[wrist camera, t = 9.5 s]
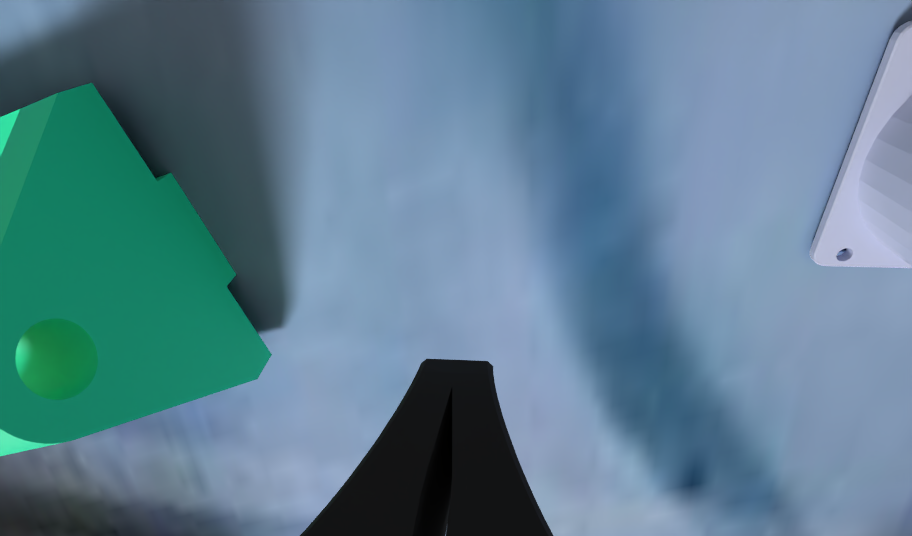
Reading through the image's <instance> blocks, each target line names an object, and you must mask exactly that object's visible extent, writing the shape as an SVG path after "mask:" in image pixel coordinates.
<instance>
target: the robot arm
mask: <svg viewBox="0 0 912 536" xmlns="http://www.w3.org/2000/svg"><path fill="white" fill-rule="evenodd" d="M842 249H846V251H845V252H844V253H843V254H841V255H838V256H837V254H838V252H839V251H841V250H842ZM809 254H810V257H811V259H813V260H814V261H815V262H816V263H817V264H818V265H822V266H846V267H886V268H912V21H908V22H906V23H904V24H903V25H901V26H900V27H898V28H897V29H896V30H895V31H894V33H893V34H892V36H891V38H890V40H889V43H888V45H887V48H886V50H885V53H884V56H883V58H882V61H881V64H880V66H879V69H878V72H877V74H876V77H875V80H874V82H873V85H872V87H871V90H870V93H869V95H868V98H867V101H866V103H865V106H864V109H863V111H862V114H861V116H860V119H859V122H858V124H857V127H856V130H855V132H854V135H853V138H852V140H851V143H850V145H849V148H848V151H847V153H846V156H845V159H844V161H843V164H842V167H841V169H840V172H839V174H838V177H837V180H836V182H835V185H834V188H833V190H832V193H831V196H830V198H829V201H828V203H827V206H826V209H825V211H824V214H823V217H822V219H821V222H820V225H819V227H818V230H817V232H816V235H815V238H814V240H813V243H812V246H811V248H810V253H809ZM446 528H447V531H446ZM445 534H446V536H553V534H552V532H551V530H550V528H549V527H548V525H547V523H546V521H545V519H544V517H543V515H542V512H541V510H540V508H539V506H538V504H537V502H536V500H535V498H534V496H533V493H532V491H531V489H530V487H529V484H528V482H527V480H526V477H525V475H524V473H523V470H522V468H521V466H520V463H519V461H518V458H517V456H516V453H515V450H514V447H513V445H512V442H511V439H510V436H509V434H508V431H507V428H506V425H505V422H504V419H503V416H502V412H501V408H500V405H499V401H498V397H497V393H496V388H495V383H494V376H493V366H492V365H491V364H490V363H489V362H488V361H469V360H444V359H426V360H425V361H423V362H422V363H421V365H420V367H419V370H418V372H417V374H416V376H415V378H414V380H413V382H412V384H411V385H410V387H409V389H408V391H407V393H406V394H405V396H404V398H403V399H402V401H401V403H400V405H399V406H398V408H397V410H396V411H395V413H394V414H393V416H392V417H391V419H390V420H389V422H388V423H387V425H386V427H385V428H384V430H383V431H382V433H381V434H380V436H379V437H378V439H377V440H376V442H375V443H374V445H373V446H372V447H371V449H370V450H369V451H368V453H367V454H366V456H365V457H364V458H363V460H362V461H361V462H360V464H359V465H358V466H357V468H356V469H355V470H354V472H353V473H352V475H351V476H350V477H349V479H348V480H347V481H346V482H345V484H344V485H343V486H342V487H341V489H340V490H339V491H338V492H337V494H336V495H335V496H334V497H333V498H332V500H331V501H330V502H329V503H328V505H327V506H326V507H325V508H324V509H323V510H322V511H321V513H320V514H319V515H318V516H317V517H316V518H315V520H314V521H313V522H312V523H311V524H310V525H309V526H308V528H307V529H306V530H305V531H304V532H303V533H302V534H301V535H300V536H445Z"/></svg>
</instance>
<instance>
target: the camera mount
mask: <svg viewBox="0 0 912 536" xmlns="http://www.w3.org/2000/svg"><path fill="white" fill-rule="evenodd" d="M235 276H236V273H235V272H234V270H233V268H232V267H231V265H230V264H229V262H228V261H227V259H226V257H225V256H224V254H223V253H222V251H221V250H220V248H219V247H218V245H217V243H216V242H215V240H214V239H213V237H212V236H211V234H210V232H209V231H208V229H207V228H206V226H205V225H204V223H203V222H202V220H201V218H200V217H199V215H198V214H197V212H196V211H195V209H194V207H193V206H192V204H191V203H190V201H189V200H188V198H187V197H186V195H185V193H184V192H183V190H182V189H181V187H180V186H179V184H178V182H177V181H176V179H175V178H174V176H173V175H172V173H169V174H166V175H163V176H160V177H157V178H155V177H154V176H153V174H152V173H151V171H150V170H149V168H148V167H147V165H146V164H145V162H144V161H143V159H142V158H141V156H140V154H139V153H138V151H137V150H136V148H135V147H134V145H133V144H132V142H131V141H130V139H129V138H128V136H127V135H126V133H125V132H124V130H123V129H122V127H121V126H120V124H119V123H118V121H117V120H116V118H115V117H114V115H113V114H112V112H111V111H110V109H109V108H108V106H107V105H106V103H105V101H104V100H103V98H102V97H101V95H100V94H99V92H98V91H97V89H96V88H95V86H94V85H93V83H89V84H86V85H82V86H79V87H76V88H72V89H69V90H65V91H62V92H59V93H56V94H54V95H51V96H49V97H47V98H44V99H42V100H40V101H37V102H35V103H33V104H30V105H28V106H26V107H23V108H21V109H19V110H16V111H14V112H11V113H9V114H7V115H4V116H2V117H0V456H4V455H8V454H13V453H17V452H22V451H27V450H31V449H36V448H40V447H45V446H50V445H54V444H59V443H63V442H68V441H72V440H75V439H78V438H81V437H84V436H87V435H90V434H93V433H96V432H99V431H102V430H105V429H108V428H111V427H114V426H117V425H120V424H123V423H126V422H129V421H132V420H135V419H138V418H141V417H144V416H147V415H150V414H153V413H156V412H159V411H162V410H165V409H168V408H171V407H174V406H177V405H180V404H183V403H186V402H189V401H192V400H195V399H198V398H201V397H204V396H207V395H210V394H213V393H216V392H219V391H222V390H225V389H228V388H231V387H234V386H237V385H240V384H243V383H246V382H249V381H252V380H255V379H258V377H259V375H260V373H261V372H262V370H263V368H264V367H265V365H266V363H267V362H268V360H269V358H270V356H271V355H272V354H271V353H270V351H269V350H268V348H267V347H266V345H265V344H264V342H263V341H262V339H261V338H260V336H259V335H258V333H257V332H256V330H255V329H254V327H253V326H252V324H251V323H250V321H249V320H248V318H247V317H246V315H245V314H244V312H243V310H242V309H241V307H240V306H239V304H238V303H237V301H236V300H235V298H234V297H233V295H232V294H231V292H230V291H229V289H228V288H227V285H228V284H229V283H230V282H231V281H232V280H233V278H234V277H235Z"/></svg>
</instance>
